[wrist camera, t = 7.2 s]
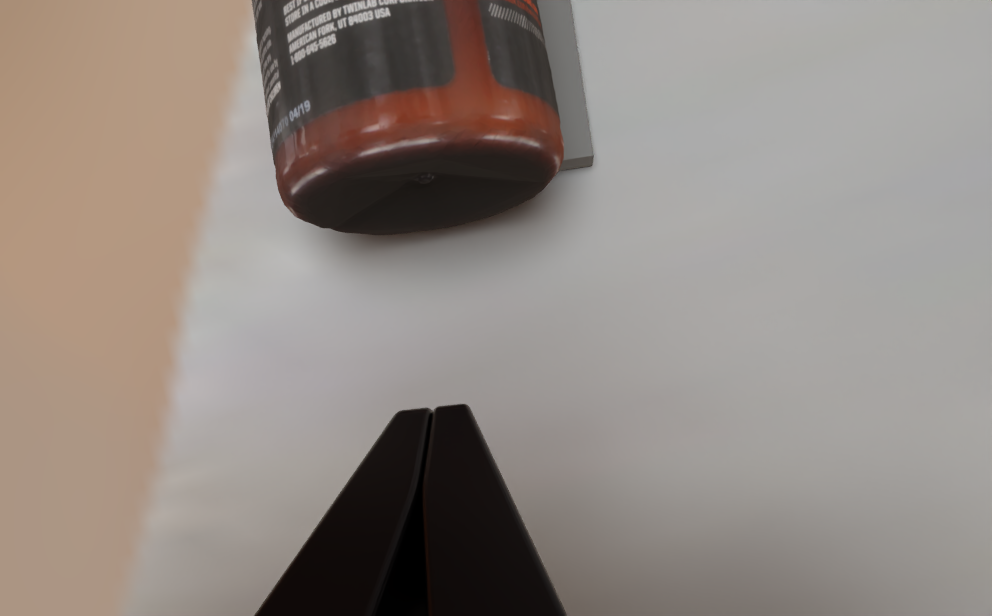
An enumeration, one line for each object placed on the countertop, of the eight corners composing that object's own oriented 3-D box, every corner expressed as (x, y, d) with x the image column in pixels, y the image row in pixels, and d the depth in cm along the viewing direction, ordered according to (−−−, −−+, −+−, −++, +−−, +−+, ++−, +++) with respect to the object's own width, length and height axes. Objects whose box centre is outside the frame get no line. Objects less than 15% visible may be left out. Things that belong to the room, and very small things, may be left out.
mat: (592, 165, 19) (593, 155, 18) (323, 205, 20) (313, 196, 19) (548, -120, 20) (548, -141, 20) (295, -77, 21) (285, -96, 20)
